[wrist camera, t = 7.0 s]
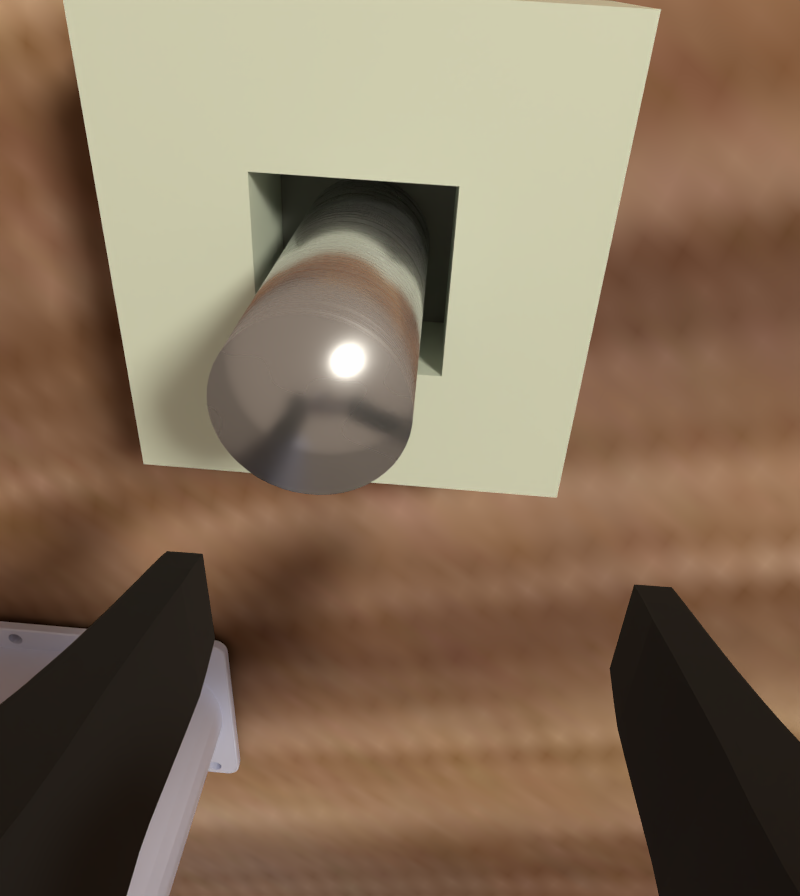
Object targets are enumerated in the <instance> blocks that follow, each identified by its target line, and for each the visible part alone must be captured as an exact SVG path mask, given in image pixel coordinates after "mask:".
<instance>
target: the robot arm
mask: <svg viewBox="0 0 800 896" xmlns="http://www.w3.org/2000/svg"><path fill="white" fill-rule="evenodd" d="M610 674H611V682H612V690H613V699H614V706H615V713H616V720H617V727H618V732H619V736H620V740H621V744H622V748H623V752H624V756H625V760H626V764H627V768H628V772H629V776H630V780H631V784H632V787H633V791H634V795H635V799H636V803H637V807H638V811H639V815H640V818H641V822H642V826H643V830H644V834H645V838H646V842H647V846H648V849H649V853H650V857H651V861H652V865H653V870H654V874H655V879H656V884H657V888H658V893H659V896H800V742H799V741H798V739H797V738H796V737H795V736H794V735H793V734H792V733H791V732H790V731H789V730H788V729H787V728H786V726H785V725H784V724H783V723H782V722H781V721H780V720H779V719H778V718H777V716H776V715H775V714H774V713H773V712H772V711H771V710H770V708H769V707H768V706H767V705H766V704H765V703H764V702H763V700H762V699H761V698H760V697H759V696H758V694H757V693H756V692H755V691H754V690H753V688H752V687H751V686H750V685H749V684H748V683H747V681H746V680H745V679H744V678H743V677H742V675H741V674H740V673H739V672H738V671H737V669H736V668H735V667H734V666H733V665H732V663H731V662H730V661H729V660H728V658H727V657H726V656H725V655H724V653H723V652H722V651H721V650H720V648H719V647H718V646H717V644H716V643H715V642H714V641H713V639H712V638H711V637H710V636H709V634H708V633H707V632H706V630H705V629H704V628H703V627H702V625H701V624H700V623H699V621H698V620H697V619H696V618H695V616H694V615H693V614H692V612H691V611H690V610H689V609H688V607H687V606H686V605H685V603H684V602H683V601H682V600H681V598H680V597H679V596H678V594H677V593H676V592H675V591H674V590H673V588H672V587H659V586H645V585H634V587H633V591H632V594H631V598H630V601H629V605H628V608H627V611H626V615H625V618H624V622H623V625H622V629H621V632H620V635H619V639H618V642H617V646H616V649H615V653H614V656H613V660H612V663H611V666H610ZM239 764H240V753H239V744H238V736H237V727H236V719H235V710H234V701H233V693H232V684H231V676H230V667H229V658H228V650H227V648H226V646H225V645H224V644H223V643H221V642H220V641H217V640H215V635H214V628H213V621H212V614H211V608H210V601H209V594H208V587H207V580H206V574H205V567H204V560H203V554H197V553H183V552H169V551H167V552H166V553H164V554H163V555H162V556H161V557H160V558H159V559H158V560H157V561H156V562H155V563H154V564H153V565H152V566H151V567H150V568H149V569H148V570H147V571H146V572H145V573H144V574H143V575H142V576H141V577H140V578H139V579H138V580H137V581H136V582H135V583H134V584H133V585H132V586H131V587H130V588H129V589H128V590H127V591H126V592H125V593H124V594H123V595H122V596H121V597H120V598H119V599H118V600H117V601H116V602H115V603H114V604H113V605H112V606H111V607H110V608H109V609H108V610H107V611H106V612H105V613H104V614H102V615H101V616H100V617H99V618H98V619H97V620H96V621H95V622H94V623H93V624H92V625H91V626H90V627H89V628H88V629H84V628H72V627H61V626H49V625H38V624H26V623H15V622H3V621H0V896H169V894H170V891H171V888H172V884H173V881H174V878H175V875H176V872H177V868H178V865H179V862H180V859H181V856H182V852H183V849H184V846H185V843H186V840H187V837H188V833H189V830H190V827H191V824H192V821H193V817H194V814H195V811H196V808H197V805H198V801H199V798H200V795H201V792H202V789H203V785H204V782H205V779H206V776H207V773H208V771H210V772H221V773H233V772H236V771H237V770H238V768H239Z"/></svg>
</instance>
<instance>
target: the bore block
mask: <svg viewBox="0 0 800 896" xmlns="http://www.w3.org/2000/svg"><path fill="white" fill-rule="evenodd" d="M63 3H64V8H65V14H66V20H67V26H68V31H69V37H70V43H71V49H72V54H73V60H74V66H75V72H76V77H77V83H78V89H79V95H80V100H81V106H82V112H83V118H84V124H85V129H86V135H87V141H88V147H89V152H90V158H91V164H92V170H93V175H94V181H95V187H96V193H97V198H98V204H99V210H100V216H101V221H102V227H103V233H104V239H105V244H106V250H107V256H108V262H109V267H110V273H111V279H112V285H113V290H114V296H115V302H116V308H117V313H118V319H119V325H120V331H121V337H122V342H123V348H124V354H125V360H126V365H127V371H128V377H129V383H130V388H131V394H132V400H133V406H134V411H135V417H136V423H137V429H138V434H139V440H140V446H141V452H142V457H143V463H144V464H149V465H161V466H174V467H186V468H198V469H211V470H223V471H235V472H248V473H251V472H249V471H248V470H246V469H245V468H244V467H243V466H242V465H240V464H239V463H238V462H237V461H236V460H235V459H234V458H233V457H232V456H231V455H230V454H229V452H228V451H227V450H226V448H225V447H224V446H223V444H222V443H221V441H220V439H219V438H218V436H217V434H216V432H215V430H214V428H213V425H212V423H211V420H210V416H209V412H208V406H207V384H208V378H209V374H210V371H211V369H212V366H213V363H214V361H215V360H216V358H217V356H218V354H219V353H220V351H221V349H222V348H223V346H224V345H225V343H226V341H227V340H228V338H229V337H230V335H231V333H232V332H233V330H234V329H235V327H236V325H237V324H238V322H239V321H240V319H241V317H242V316H243V314H244V313H245V311H246V309H247V308H248V306H249V305H250V303H251V301H252V300H253V298H254V297H255V295H256V293H257V292H258V290H259V289H260V287H261V286H262V284H263V282H264V281H265V279H266V278H267V276H268V274H269V273H270V271H271V270H272V268H273V266H274V265H275V263H276V262H277V260H278V258H279V257H280V255H281V254H282V252H283V250H284V249H285V247H286V246H287V244H288V242H289V241H290V239H291V238H292V236H293V234H294V233H295V231H296V230H297V228H298V227H299V225H300V223H301V222H302V220H303V219H304V217H305V215H306V214H307V212H308V211H309V209H310V207H311V206H312V204H313V203H314V201H315V200H316V199H317V197H318V196H319V195H320V194H321V193H322V192H323V191H324V190H326V189H327V188H328V187H330V186H331V185H333V184H335V183H337V182H339V181H341V180H344V179H360V180H374V181H388V182H391V183H393V184H395V185H397V186H398V187H400V188H401V189H403V190H404V191H405V192H406V193H408V194H409V195H410V196H411V197H412V198H413V200H414V201H415V202H416V203H417V205H418V206H419V208H420V209H421V211H422V213H423V215H424V217H425V220H426V223H427V226H428V231H429V241H430V242H429V255H428V266H427V276H426V287H425V297H424V308H423V318H422V329H421V339H420V350H419V360H418V371H417V381H416V391H415V402H414V412H413V423H412V428H411V433H410V437H409V439H408V442H407V445H406V447H405V449H404V450H403V452H402V454H401V456H400V457H399V458H398V460H397V461H396V462H395V463H394V465H393V466H392V467H391V468H390V469H389V470H388V471H386V472H385V473H384V474H383V475H381V476H380V477H379V478H377V479H376V480H374V481H372V482H371V483H383V484H396V485H408V486H420V487H433V488H445V489H457V490H470V491H482V492H494V493H507V494H519V495H531V496H544V497H556V498H557V493H558V489H559V484H560V479H561V475H562V470H563V465H564V461H565V456H566V451H567V447H568V442H569V437H570V433H571V428H572V423H573V419H574V414H575V409H576V404H577V400H578V395H579V390H580V386H581V381H582V376H583V372H584V367H585V362H586V358H587V353H588V348H589V344H590V339H591V334H592V330H593V325H594V320H595V316H596V311H597V306H598V302H599V297H600V292H601V287H602V283H603V278H604V273H605V269H606V264H607V259H608V255H609V250H610V245H611V241H612V236H613V231H614V227H615V222H616V217H617V213H618V208H619V203H620V199H621V194H622V189H623V184H624V180H625V175H626V170H627V166H628V161H629V156H630V152H631V147H632V142H633V138H634V133H635V128H636V124H637V119H638V114H639V110H640V105H641V100H642V96H643V91H644V86H645V82H646V77H647V72H648V67H649V63H650V58H651V53H652V49H653V44H654V39H655V35H656V30H657V25H658V21H659V16H660V11H661V9H655V8H649V7H644V6H638V5H632V4H626V3H621V2H615V1H604V0H63Z"/></svg>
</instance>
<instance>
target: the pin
mask: <svg viewBox="0 0 800 896" xmlns="http://www.w3.org/2000/svg"><path fill="white" fill-rule="evenodd" d="M429 242H430V241H429V231H428V226H427V223H426V220H425V217H424V215H423V213H422V211H421V209H420V208H419V206H418V205H417V203H416V202H415V201H414V200H413V198H412V197H411V196H410V195H409V194H408V193H406V192H405V191H404V190H403V189H401V188H400V187H398V186H397V185H395V184H393V183H391V182H388V181H374V180H360V179H344V180H341V181H339V182H337V183H335V184H333V185H331V186H330V187H328V188H327V189H326V190H324V191H323V192H322V193H321V194H320V195H319V196H318V197H317V199H316V200H315V201H314V203H313V204H312V206H311V207H310V209H309V211H308V212H307V214H306V215H305V217H304V219H303V220H302V222H301V223H300V225H299V227H298V228H297V230H296V231H295V233H294V234H293V236H292V238H291V239H290V241H289V242H288V244H287V246H286V247H285V249H284V250H283V252H282V254H281V255H280V257H279V258H278V260H277V262H276V263H275V265H274V266H273V268H272V270H271V271H270V273H269V274H268V276H267V278H266V279H265V281H264V282H263V284H262V286H261V287H260V289H259V290H258V292H257V293H256V295H255V297H254V298H253V300H252V301H251V303H250V305H249V306H248V308H247V309H246V311H245V313H244V314H243V316H242V317H241V319H240V321H239V322H238V324H237V325H236V327H235V329H234V330H233V332H232V333H231V335H230V337H229V338H228V340H227V341H226V343H225V345H224V346H223V348H222V349H221V351H220V353H219V354H218V356H217V358H216V360H215V361H214V363H213V366H212V369H211V371H210V374H209V378H208V384H207V406H208V412H209V416H210V420H211V423H212V425H213V428H214V430H215V432H216V434H217V436H218V438H219V439H220V441H221V443H222V444H223V446H224V447H225V448H226V450H227V451H228V452H229V454H230V455H231V456H232V457H233V458H234V459H235V460H236V461H237V462H238V463H239V464H240V465H242V466H243V467H244V468H245V469H246V470H248V471H249V472H251V473H252V474H254V475H255V476H257V477H258V478H260V479H262V480H264V481H266V482H268V483H270V484H272V485H275V486H277V487H280V488H282V489H286V490H289V491H293V492H298V493H304V494H315V495H326V494H337V493H343V492H347V491H351V490H355V489H357V488H360V487H362V486H365V485H367V484H369V483H370V482H372V481H374V480H376V479H377V478H379V477H380V476H381V475H383V474H384V473H385V472H386V471H388V470H389V469H390V468H391V467H392V466H393V465H394V463H395V462H396V461H397V460H398V458H399V457H400V456H401V454H402V452H403V450H404V449H405V447H406V445H407V442H408V439H409V437H410V433H411V428H412V423H413V412H414V402H415V391H416V381H417V371H418V360H419V350H420V339H421V329H422V318H423V308H424V297H425V287H426V276H427V266H428V255H429Z"/></svg>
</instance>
